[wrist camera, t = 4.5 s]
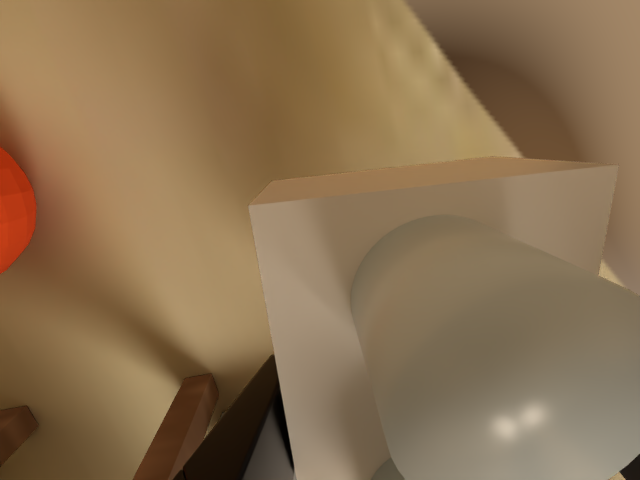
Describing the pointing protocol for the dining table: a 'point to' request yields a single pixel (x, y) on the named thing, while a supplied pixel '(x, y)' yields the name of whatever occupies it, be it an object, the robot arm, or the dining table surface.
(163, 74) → the dining table surface
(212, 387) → the wooden stand
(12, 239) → the clementine
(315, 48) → the dining table surface
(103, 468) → the dining table surface
